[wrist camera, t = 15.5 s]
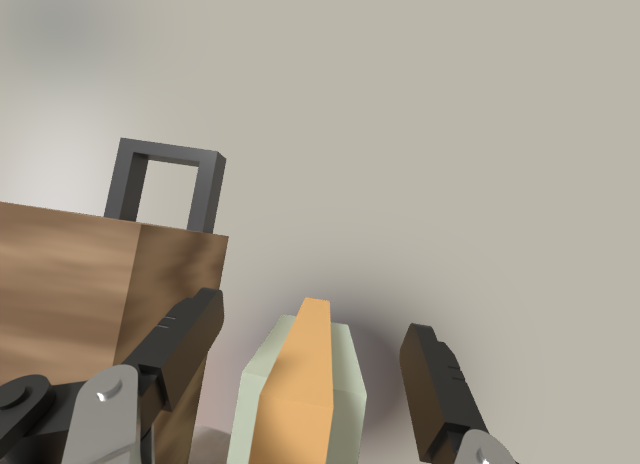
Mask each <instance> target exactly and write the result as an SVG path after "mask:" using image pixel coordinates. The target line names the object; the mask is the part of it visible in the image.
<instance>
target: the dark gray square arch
mask: <svg viewBox="0 0 640 464" xmlns="http://www.w3.org/2000/svg"><path fill="white" fill-rule="evenodd" d="M148 160H154V161H161V162H168V163H176V164H182V165H189V166H196V167H199V168H198V173H197V178H196V183H195V189H194V194H193V199H192V204H191V210H190V215H189V220H188V225H187V230H190V231H196V232H203V233H210V234H213V228H214V223H215V218H216V212H217V207H218V201H219V196H220V191H221V185H222V180H223V175H224V169H225V163H226V158H224V157H223V156H222V155H221V154H220V153H219V152H217V151H211V150H204V149H197V148H190V147H183V146H176V145H169V144H162V143H155V142H147V141H141V140H134V139H127V138H121V139H120V144H119V149H118V153H117V158H116V162H115V167H114V172H113V176H112V181H111V185H110V190H109V194H108V199H107V204H106V208H105V213H104V217H107V218H113V219H119V220H126V221H133V222H136V218H137V213H138V208H139V203H140V198H141V193H142V189H143V184H144V178H145V174H146V170H147V164H148Z"/></svg>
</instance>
